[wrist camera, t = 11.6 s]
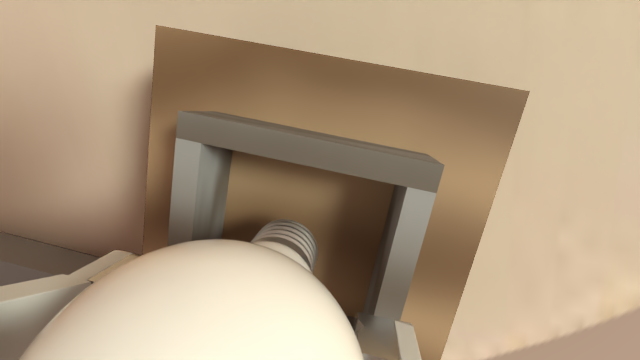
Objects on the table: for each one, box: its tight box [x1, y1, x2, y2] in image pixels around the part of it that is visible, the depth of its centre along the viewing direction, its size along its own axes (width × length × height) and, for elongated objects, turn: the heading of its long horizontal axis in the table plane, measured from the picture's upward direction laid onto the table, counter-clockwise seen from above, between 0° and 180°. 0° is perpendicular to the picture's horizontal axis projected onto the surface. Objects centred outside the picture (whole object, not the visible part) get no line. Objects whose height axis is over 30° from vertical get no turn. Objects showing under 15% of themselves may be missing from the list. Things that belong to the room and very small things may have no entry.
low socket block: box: [0, 232, 100, 286], centre depth 25 cm, size 15×15×3 cm
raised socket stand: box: [142, 25, 530, 360], centre depth 16 cm, size 16×16×9 cm
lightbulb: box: [18, 219, 364, 360], centre depth 8 cm, size 6×6×11 cm
